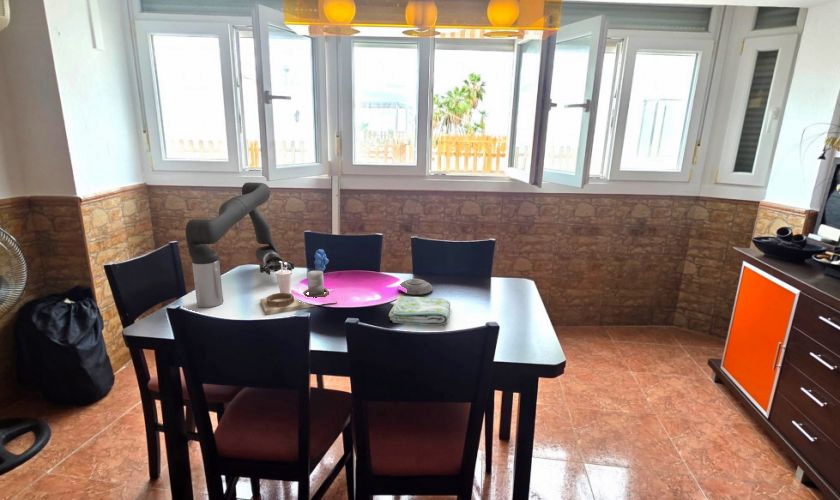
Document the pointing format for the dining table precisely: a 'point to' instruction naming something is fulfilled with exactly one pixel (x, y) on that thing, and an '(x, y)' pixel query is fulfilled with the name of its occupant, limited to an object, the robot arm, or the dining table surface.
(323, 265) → the grapes
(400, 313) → the towel
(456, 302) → the dining table surface
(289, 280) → the smoothie
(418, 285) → the grey rounded dome
